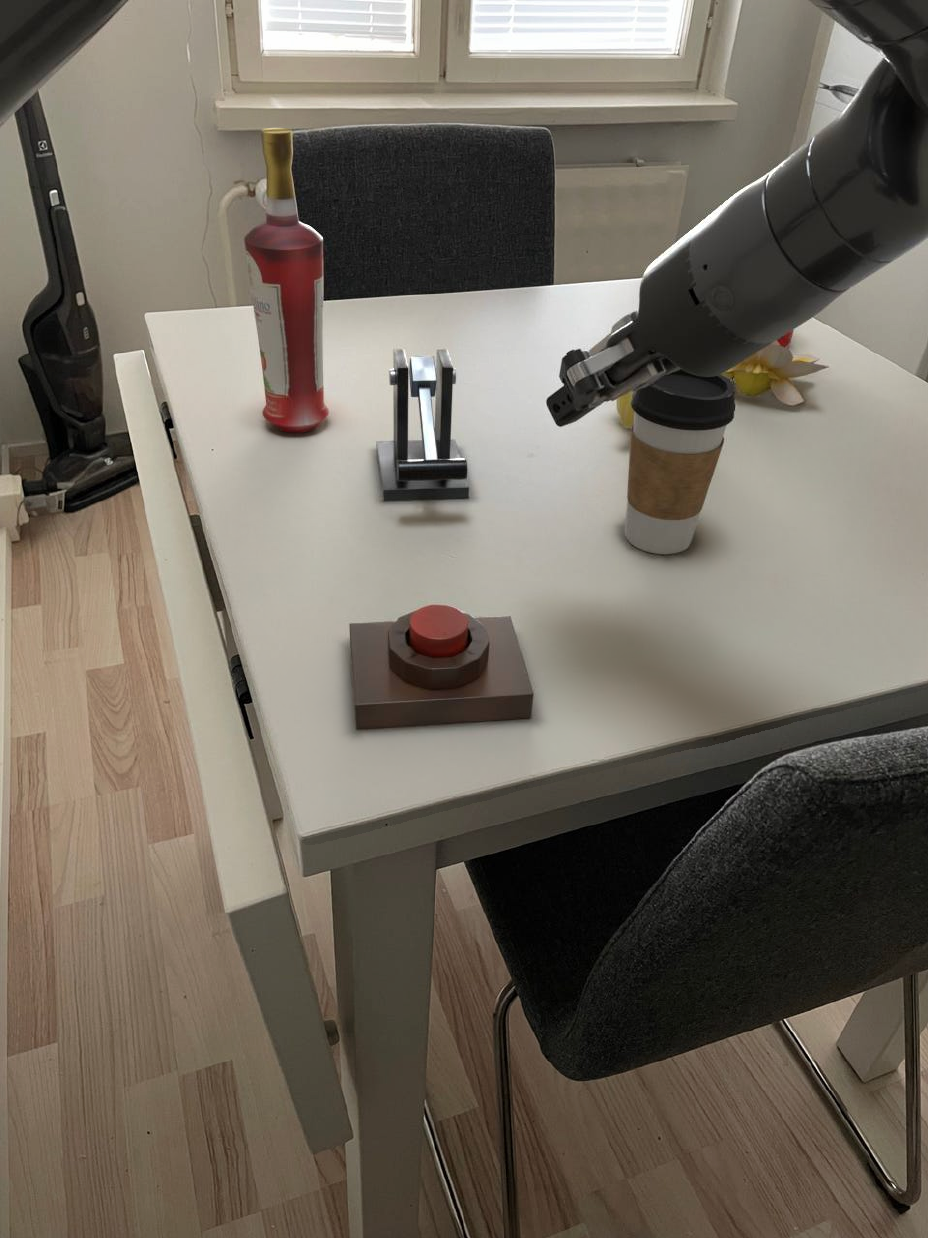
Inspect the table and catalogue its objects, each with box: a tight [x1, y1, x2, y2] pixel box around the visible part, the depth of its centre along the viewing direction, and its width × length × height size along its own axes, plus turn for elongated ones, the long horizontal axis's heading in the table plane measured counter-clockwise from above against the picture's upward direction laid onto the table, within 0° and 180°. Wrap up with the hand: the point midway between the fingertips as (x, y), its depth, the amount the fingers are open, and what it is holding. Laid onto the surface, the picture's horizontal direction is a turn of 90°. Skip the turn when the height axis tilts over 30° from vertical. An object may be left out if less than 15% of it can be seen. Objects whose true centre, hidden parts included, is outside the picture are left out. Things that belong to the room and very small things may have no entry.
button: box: [410, 604, 468, 658], centre depth 66 cm, size 4×4×2 cm
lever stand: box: [376, 348, 470, 502], centre depth 90 cm, size 10×8×12 cm
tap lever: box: [397, 355, 468, 481], centre depth 85 cm, size 12×6×2 cm, turn 8°
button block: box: [348, 610, 535, 730], centre depth 67 cm, size 12×9×4 cm
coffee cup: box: [624, 369, 736, 555], centre depth 81 cm, size 8×8×15 cm
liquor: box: [243, 127, 330, 434], centre depth 93 cm, size 7×7×28 cm
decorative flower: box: [721, 340, 830, 406], centre depth 110 cm, size 15×11×10 cm
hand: (558, 412), depth 66 cm, fingers closed
